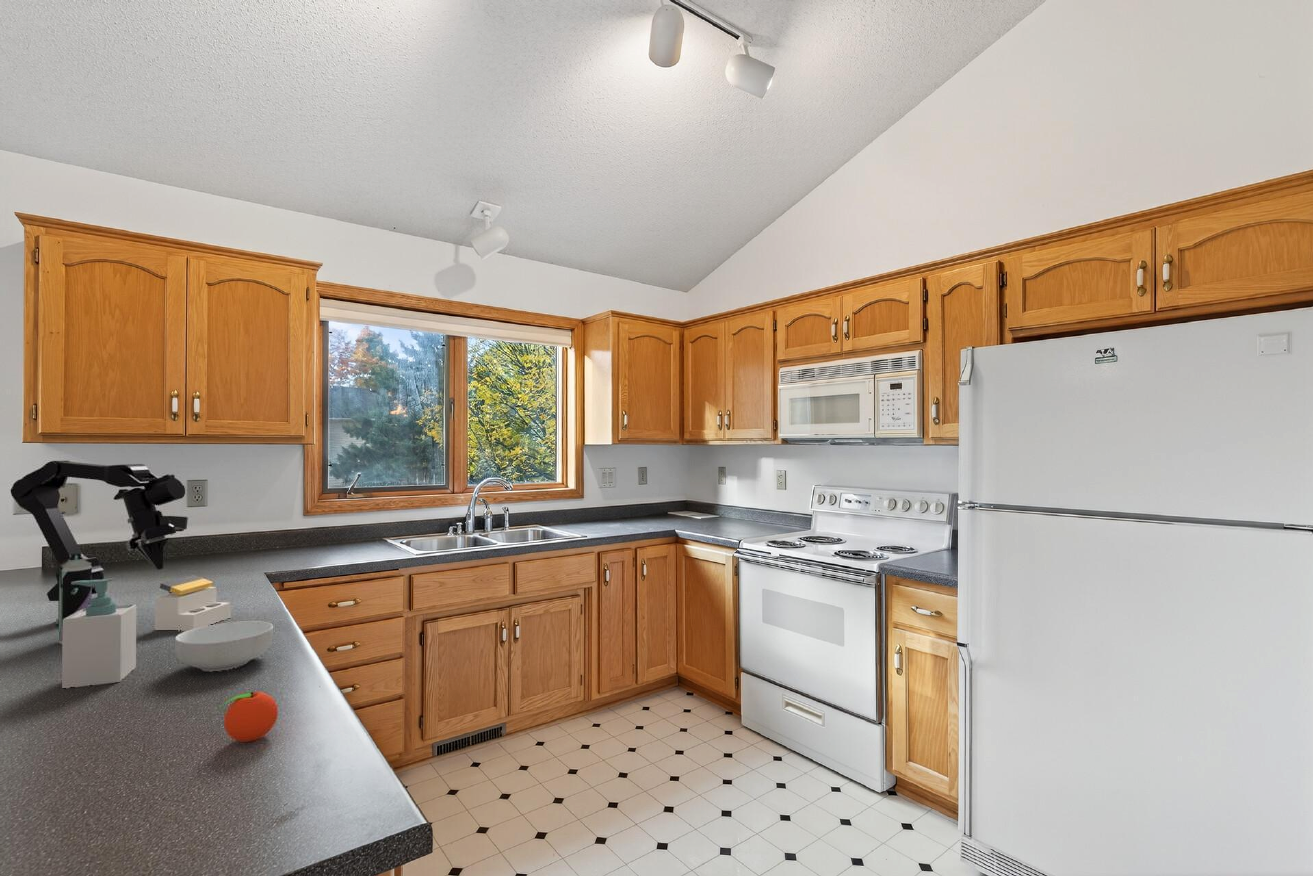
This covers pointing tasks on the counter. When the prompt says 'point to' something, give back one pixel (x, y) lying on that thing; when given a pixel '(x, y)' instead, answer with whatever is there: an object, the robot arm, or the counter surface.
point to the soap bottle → (98, 641)
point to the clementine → (250, 716)
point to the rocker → (186, 585)
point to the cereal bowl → (223, 644)
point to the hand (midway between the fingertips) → (160, 569)
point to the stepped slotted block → (190, 610)
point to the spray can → (73, 588)
